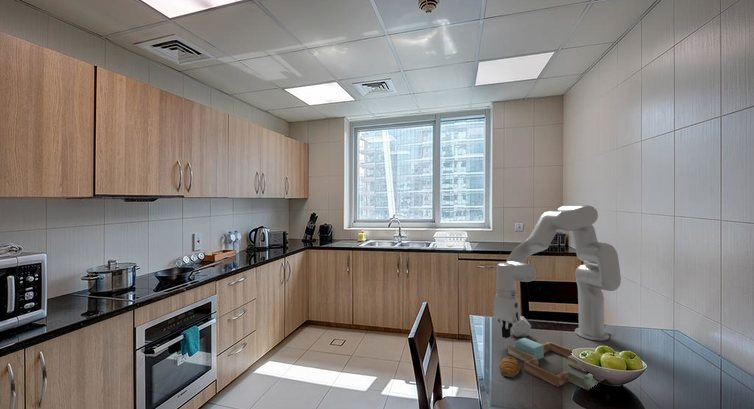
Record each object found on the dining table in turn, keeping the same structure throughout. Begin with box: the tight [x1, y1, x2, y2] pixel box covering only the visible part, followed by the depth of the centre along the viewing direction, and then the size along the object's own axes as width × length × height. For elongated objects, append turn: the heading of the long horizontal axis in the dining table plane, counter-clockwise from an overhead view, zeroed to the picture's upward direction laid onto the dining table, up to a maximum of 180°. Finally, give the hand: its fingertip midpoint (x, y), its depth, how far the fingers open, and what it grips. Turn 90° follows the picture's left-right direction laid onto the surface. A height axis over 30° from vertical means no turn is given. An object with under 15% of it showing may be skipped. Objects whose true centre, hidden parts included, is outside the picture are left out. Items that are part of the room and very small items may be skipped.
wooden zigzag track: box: [507, 341, 599, 391], centre depth 114 cm, size 24×29×4 cm
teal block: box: [514, 337, 545, 361], centre depth 122 cm, size 6×8×5 cm
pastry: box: [499, 356, 521, 378], centre depth 110 cm, size 9×7×4 cm
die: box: [510, 315, 532, 338], centre depth 141 cm, size 8×9×10 cm
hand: (506, 336), depth 131 cm, fingers closed
